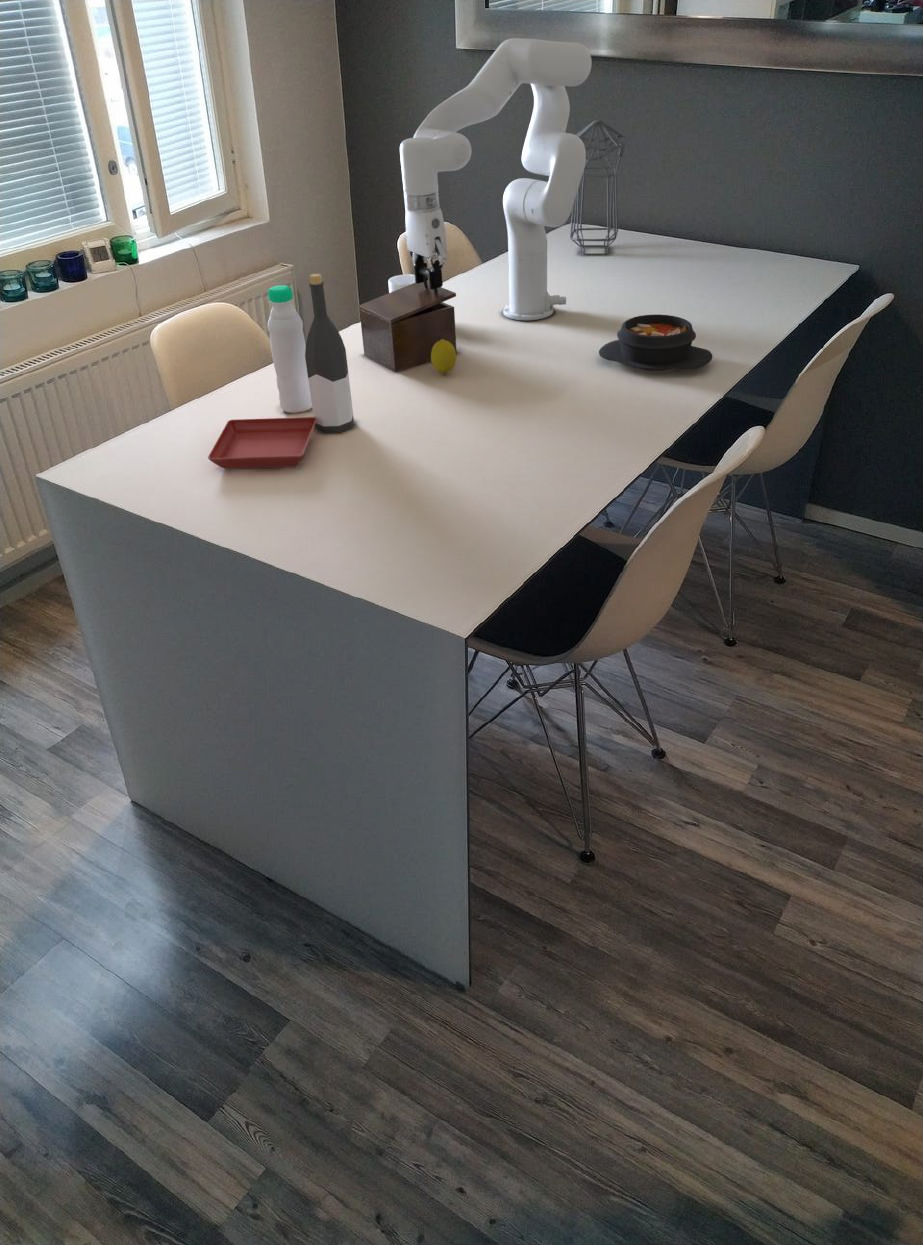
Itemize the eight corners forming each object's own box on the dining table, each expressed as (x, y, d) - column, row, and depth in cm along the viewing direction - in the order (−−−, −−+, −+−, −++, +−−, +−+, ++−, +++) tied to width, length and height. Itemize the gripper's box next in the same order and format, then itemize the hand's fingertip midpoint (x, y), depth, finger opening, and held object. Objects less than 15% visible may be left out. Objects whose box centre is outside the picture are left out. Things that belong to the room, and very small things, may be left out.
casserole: (720, 354, 226) (724, 317, 221) (699, 384, 212) (703, 345, 207) (613, 342, 235) (615, 306, 230) (586, 370, 222) (587, 333, 217)
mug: (442, 320, 254) (440, 278, 248) (423, 330, 248) (420, 288, 242) (405, 313, 260) (402, 272, 254) (385, 322, 254) (381, 281, 248)
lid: (422, 282, 236) (418, 259, 233) (456, 296, 227) (452, 271, 223) (359, 308, 230) (354, 284, 226) (391, 323, 220) (386, 298, 217)
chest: (424, 338, 243) (420, 293, 237) (456, 353, 234) (454, 306, 228) (364, 355, 236) (359, 309, 230) (395, 371, 226) (391, 324, 220)
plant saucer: (231, 433, 203) (228, 418, 201) (319, 431, 202) (317, 415, 200) (209, 474, 188) (206, 458, 186) (305, 472, 187) (303, 455, 185)
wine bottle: (361, 420, 205) (345, 270, 188) (341, 436, 200) (322, 283, 182) (328, 415, 208) (308, 267, 191) (307, 430, 203) (285, 279, 185)
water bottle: (319, 402, 214) (303, 283, 200) (305, 415, 209) (287, 294, 194) (290, 399, 216) (272, 281, 202) (274, 412, 211) (254, 292, 197)
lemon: (431, 370, 226) (429, 335, 221) (456, 368, 226) (454, 333, 222) (432, 380, 221) (430, 344, 217) (457, 378, 222) (456, 342, 217)
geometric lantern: (565, 258, 293) (567, 126, 273) (570, 243, 306) (571, 116, 285) (620, 258, 290) (626, 124, 270) (622, 243, 303) (628, 114, 283)
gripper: (458, 204, 215) (464, 289, 225) (414, 191, 226) (422, 273, 237) (429, 211, 211) (436, 297, 222) (386, 197, 223) (395, 280, 234)
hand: (428, 284), depth 229 cm, fingers closed on lid, 5 cm apart
